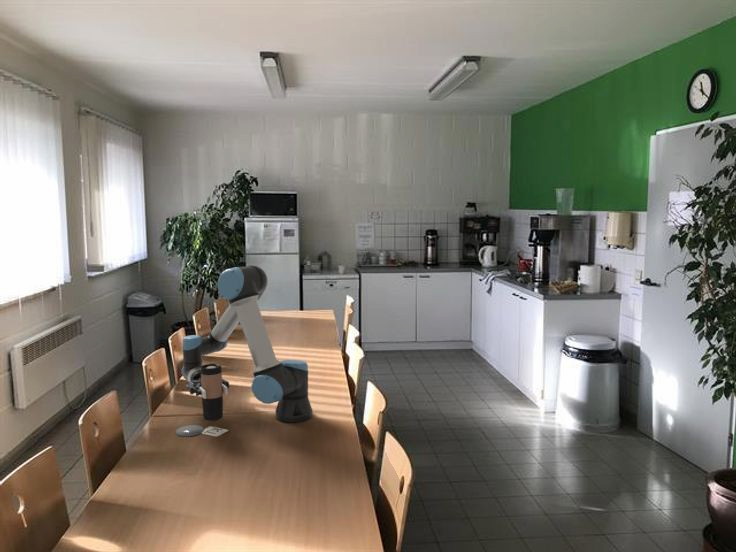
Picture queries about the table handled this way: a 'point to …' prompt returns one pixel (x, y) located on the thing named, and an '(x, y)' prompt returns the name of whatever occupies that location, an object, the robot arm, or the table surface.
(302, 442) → the table surface
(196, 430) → the slate coaster
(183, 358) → the robot arm
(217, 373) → the travel mug
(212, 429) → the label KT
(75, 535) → the table surface
